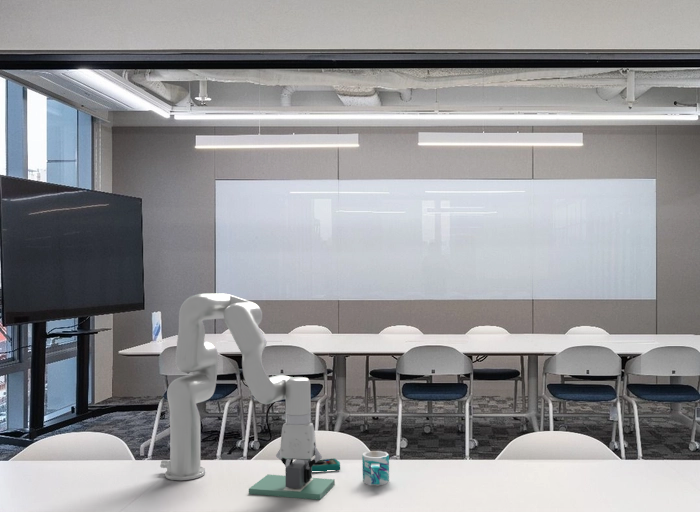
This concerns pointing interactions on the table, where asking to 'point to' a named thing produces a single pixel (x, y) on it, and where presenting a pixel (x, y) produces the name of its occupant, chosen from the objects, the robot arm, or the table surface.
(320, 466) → the digital multimeter
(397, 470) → the table surface
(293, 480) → the block
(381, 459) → the mug
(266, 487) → the header board
